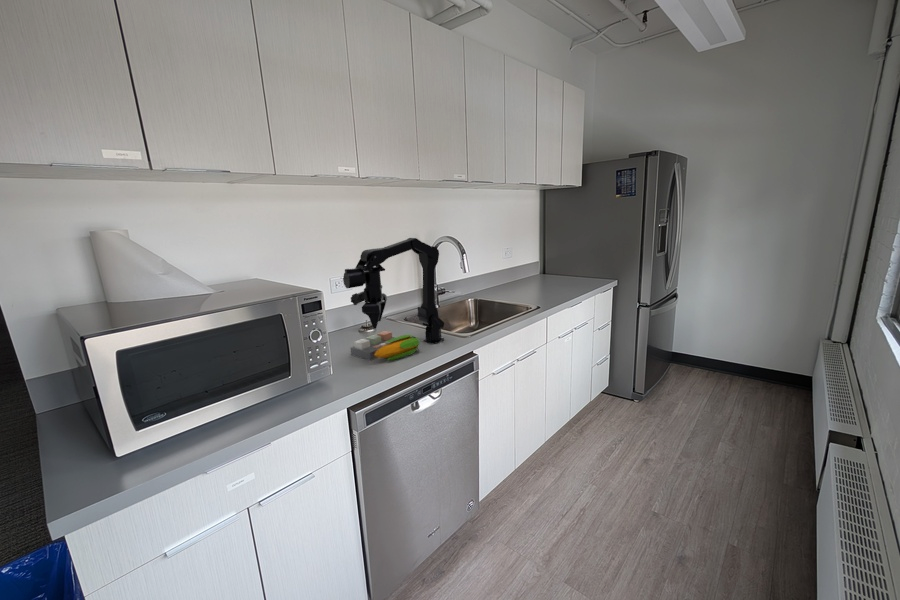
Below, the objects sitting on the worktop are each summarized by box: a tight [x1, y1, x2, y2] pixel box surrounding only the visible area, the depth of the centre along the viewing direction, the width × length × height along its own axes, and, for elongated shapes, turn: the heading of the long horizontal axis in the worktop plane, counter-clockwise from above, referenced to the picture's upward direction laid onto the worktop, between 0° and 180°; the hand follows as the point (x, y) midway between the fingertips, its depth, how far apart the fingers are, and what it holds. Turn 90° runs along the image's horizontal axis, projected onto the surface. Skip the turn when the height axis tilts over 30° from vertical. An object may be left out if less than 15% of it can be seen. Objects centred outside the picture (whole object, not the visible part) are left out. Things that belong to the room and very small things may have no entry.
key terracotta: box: [376, 330, 393, 341], centre depth 165 cm, size 4×4×4 cm
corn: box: [374, 334, 420, 362], centre depth 151 cm, size 7×8×20 cm
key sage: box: [365, 334, 382, 345], centre depth 160 cm, size 4×4×4 cm
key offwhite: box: [353, 338, 370, 350], centre depth 155 cm, size 4×4×4 cm
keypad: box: [349, 336, 399, 361], centre depth 159 cm, size 18×11×3 cm, turn 143°
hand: (377, 324), depth 152 cm, fingers open, 9 cm apart
